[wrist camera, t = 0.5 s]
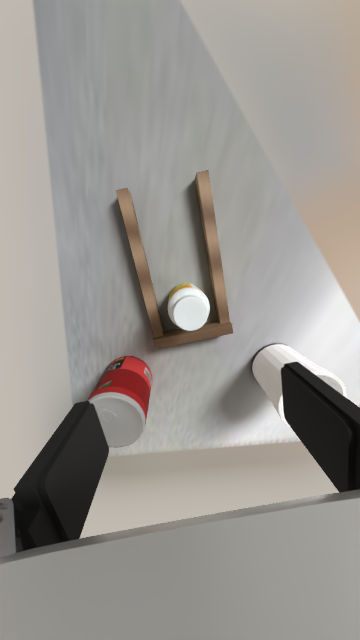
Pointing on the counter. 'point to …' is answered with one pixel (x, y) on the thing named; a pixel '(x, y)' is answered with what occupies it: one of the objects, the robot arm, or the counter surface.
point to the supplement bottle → (188, 307)
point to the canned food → (123, 400)
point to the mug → (269, 372)
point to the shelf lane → (214, 261)
